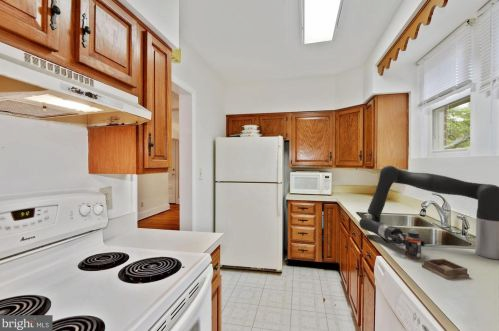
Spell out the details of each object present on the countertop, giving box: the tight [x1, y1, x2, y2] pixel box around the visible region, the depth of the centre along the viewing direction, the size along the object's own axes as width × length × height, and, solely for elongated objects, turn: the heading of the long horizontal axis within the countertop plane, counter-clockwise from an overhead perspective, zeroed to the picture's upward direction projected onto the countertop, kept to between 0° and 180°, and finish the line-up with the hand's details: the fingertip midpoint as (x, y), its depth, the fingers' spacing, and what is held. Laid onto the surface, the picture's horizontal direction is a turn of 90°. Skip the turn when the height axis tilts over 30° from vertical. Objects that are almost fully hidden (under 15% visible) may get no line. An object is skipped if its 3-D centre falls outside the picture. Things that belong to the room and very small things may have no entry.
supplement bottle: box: [404, 230, 422, 260], centre depth 111 cm, size 6×6×11 cm
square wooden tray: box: [421, 258, 470, 280], centre depth 96 cm, size 10×10×3 cm
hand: (417, 244), depth 109 cm, fingers closed on supplement bottle, 6 cm apart
